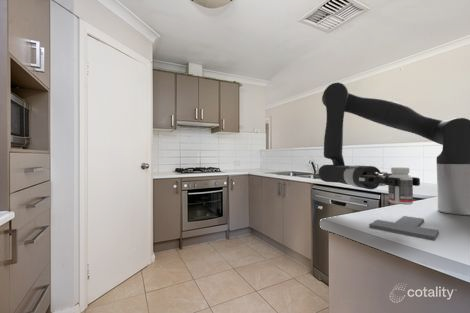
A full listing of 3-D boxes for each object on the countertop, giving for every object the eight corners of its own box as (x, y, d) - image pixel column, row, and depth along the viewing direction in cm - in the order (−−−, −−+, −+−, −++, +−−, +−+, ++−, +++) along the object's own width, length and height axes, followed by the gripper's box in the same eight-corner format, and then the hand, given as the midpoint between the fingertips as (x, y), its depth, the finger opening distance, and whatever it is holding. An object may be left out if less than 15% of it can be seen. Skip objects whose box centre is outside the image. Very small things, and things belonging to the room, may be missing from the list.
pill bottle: (414, 202, 61) (414, 167, 61) (411, 206, 57) (410, 168, 57) (390, 200, 64) (390, 166, 64) (386, 203, 61) (386, 167, 61)
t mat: (387, 215, 75) (387, 213, 75) (443, 224, 65) (443, 221, 65) (369, 227, 63) (369, 224, 63) (434, 239, 53) (434, 236, 53)
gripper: (342, 165, 73) (385, 168, 57) (379, 165, 76) (431, 167, 59) (342, 188, 73) (385, 197, 57) (379, 187, 76) (431, 195, 59)
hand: (409, 182), depth 58 cm, fingers closed on pill bottle, 5 cm apart
